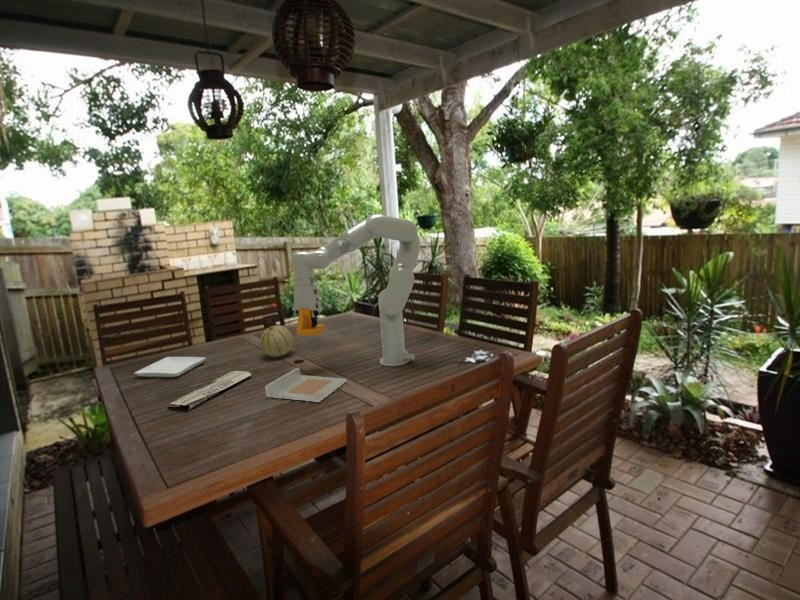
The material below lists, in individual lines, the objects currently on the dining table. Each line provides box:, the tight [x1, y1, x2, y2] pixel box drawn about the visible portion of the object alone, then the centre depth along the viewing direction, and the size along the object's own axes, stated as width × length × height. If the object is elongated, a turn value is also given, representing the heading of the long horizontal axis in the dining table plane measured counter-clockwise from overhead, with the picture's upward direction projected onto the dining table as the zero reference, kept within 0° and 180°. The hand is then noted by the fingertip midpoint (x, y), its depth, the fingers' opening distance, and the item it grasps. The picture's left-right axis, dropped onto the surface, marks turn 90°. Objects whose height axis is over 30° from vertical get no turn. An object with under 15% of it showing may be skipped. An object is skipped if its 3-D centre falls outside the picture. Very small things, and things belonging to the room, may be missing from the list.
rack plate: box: [264, 367, 348, 402], centre depth 168 cm, size 22×20×4 cm
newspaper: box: [166, 370, 252, 410], centre depth 174 cm, size 35×12×4 cm, turn 162°
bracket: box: [296, 308, 325, 337], centre depth 186 cm, size 11×7×12 cm, turn 162°
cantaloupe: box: [259, 325, 294, 358], centre depth 212 cm, size 15×15×15 cm
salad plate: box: [134, 356, 207, 378], centre depth 203 cm, size 21×21×3 cm
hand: (309, 325), depth 187 cm, fingers closed on bracket, 4 cm apart
